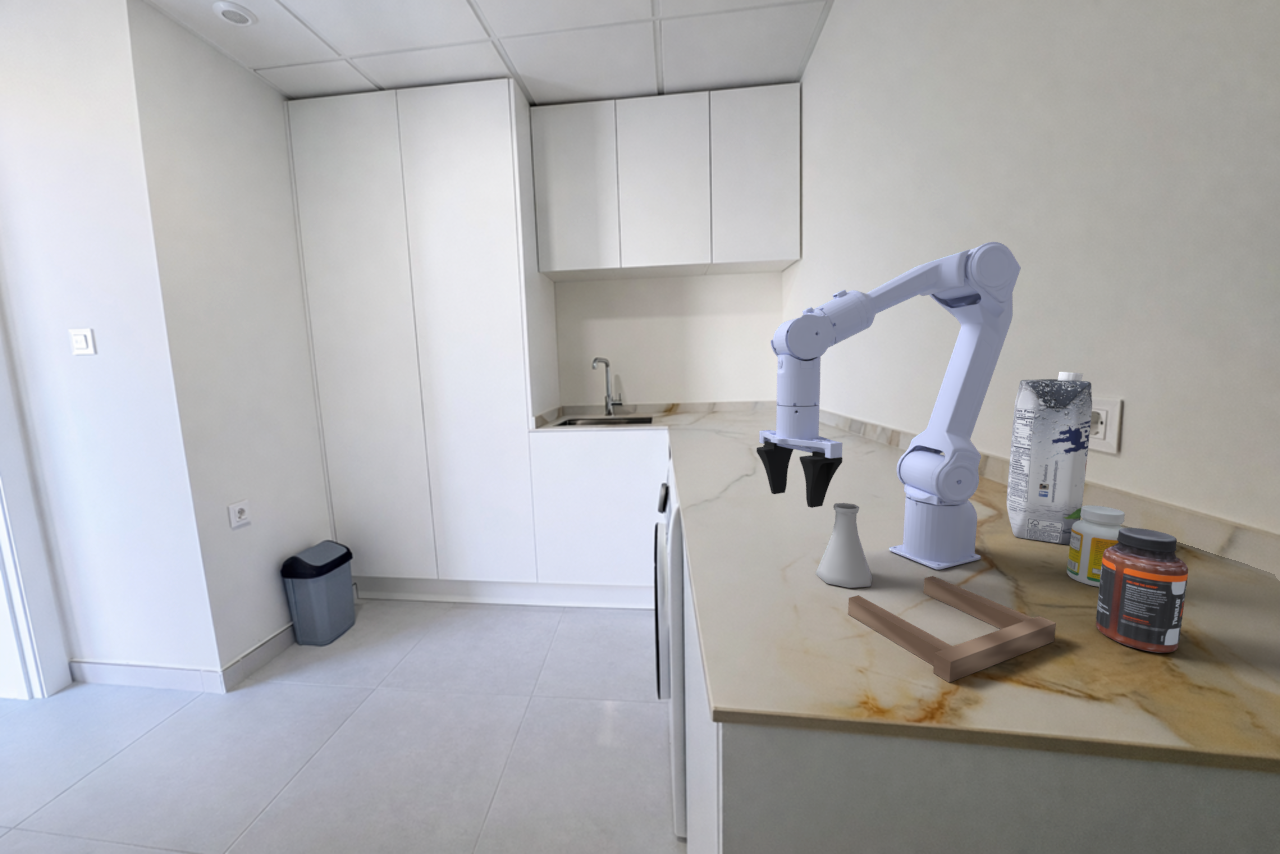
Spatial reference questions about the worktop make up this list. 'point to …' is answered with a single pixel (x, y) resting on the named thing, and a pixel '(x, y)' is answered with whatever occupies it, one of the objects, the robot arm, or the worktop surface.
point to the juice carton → (1049, 457)
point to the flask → (845, 552)
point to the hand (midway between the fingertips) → (795, 499)
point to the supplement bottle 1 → (1092, 542)
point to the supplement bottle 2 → (1142, 591)
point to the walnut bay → (968, 656)
